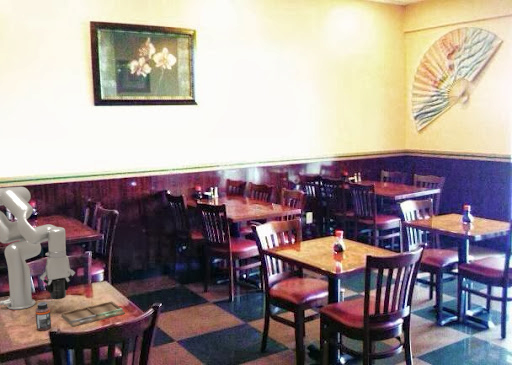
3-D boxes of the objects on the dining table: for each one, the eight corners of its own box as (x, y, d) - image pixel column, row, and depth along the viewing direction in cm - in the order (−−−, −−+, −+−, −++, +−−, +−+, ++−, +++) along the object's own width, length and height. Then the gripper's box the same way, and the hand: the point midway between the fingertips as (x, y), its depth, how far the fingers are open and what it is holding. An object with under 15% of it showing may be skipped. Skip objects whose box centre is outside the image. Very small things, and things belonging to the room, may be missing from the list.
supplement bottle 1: (39, 325, 238) (37, 301, 236) (52, 325, 238) (51, 300, 237) (34, 331, 232) (33, 306, 230) (48, 330, 232) (47, 305, 231)
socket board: (72, 327, 236) (72, 323, 236) (61, 316, 248) (61, 313, 248) (124, 313, 251) (124, 310, 251) (111, 304, 263) (111, 301, 263)
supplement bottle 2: (68, 295, 255) (68, 271, 253) (59, 300, 249) (58, 275, 247) (56, 293, 257) (56, 269, 255) (47, 298, 251) (46, 273, 249)
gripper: (40, 258, 241) (41, 296, 244) (78, 253, 252) (79, 289, 255) (35, 254, 247) (36, 291, 250) (73, 249, 258) (73, 285, 261)
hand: (58, 290), depth 252 cm, fingers closed on supplement bottle 2, 6 cm apart
